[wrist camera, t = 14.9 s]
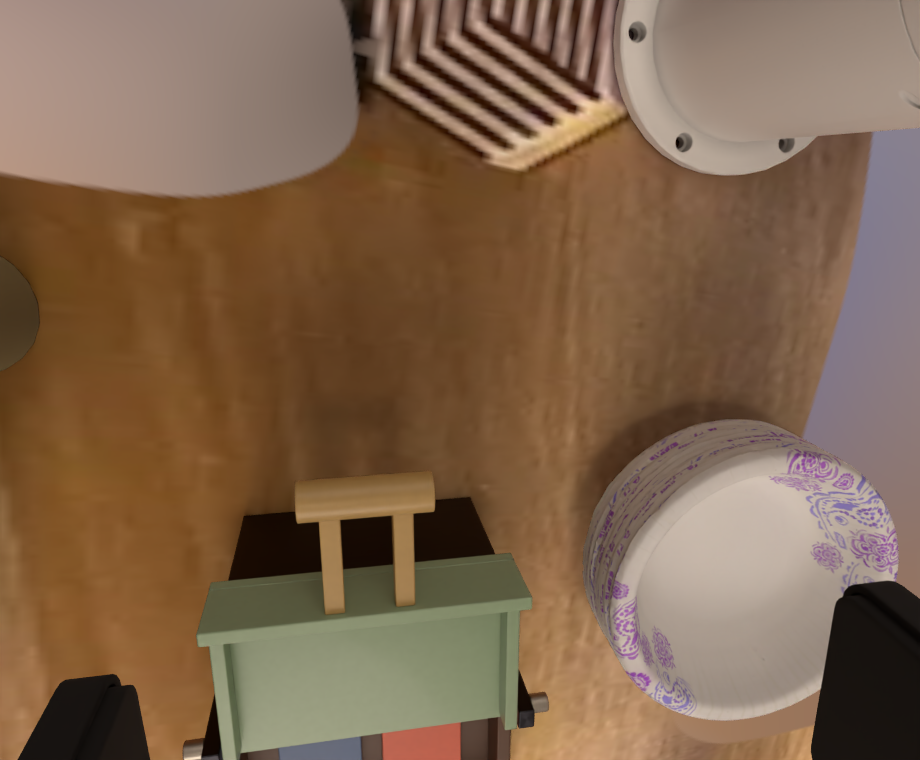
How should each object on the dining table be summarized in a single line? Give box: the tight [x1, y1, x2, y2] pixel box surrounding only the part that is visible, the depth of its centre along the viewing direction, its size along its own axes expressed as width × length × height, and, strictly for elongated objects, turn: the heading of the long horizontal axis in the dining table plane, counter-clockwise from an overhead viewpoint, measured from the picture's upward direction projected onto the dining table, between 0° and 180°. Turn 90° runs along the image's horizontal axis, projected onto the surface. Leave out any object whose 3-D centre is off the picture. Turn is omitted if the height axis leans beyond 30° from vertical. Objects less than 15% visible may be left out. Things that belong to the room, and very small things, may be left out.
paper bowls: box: [583, 419, 899, 721], centre depth 37 cm, size 15×15×8 cm
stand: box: [183, 497, 549, 760], centre depth 35 cm, size 17×9×8 cm, turn 90°
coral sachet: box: [382, 722, 461, 760], centre depth 41 cm, size 5×6×1 cm
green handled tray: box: [196, 471, 532, 760], centre depth 29 cm, size 13×14×4 cm
